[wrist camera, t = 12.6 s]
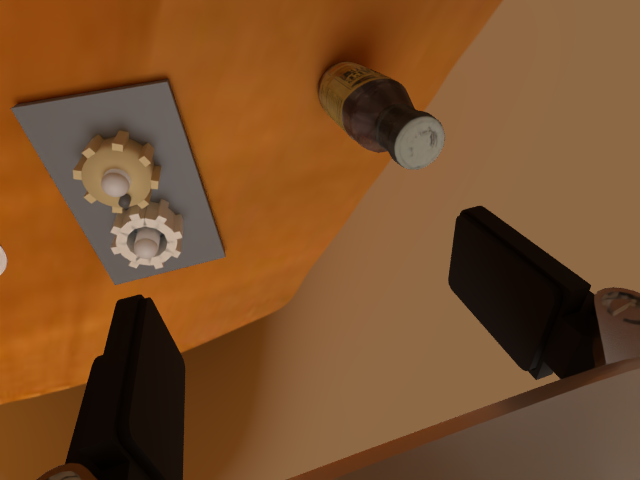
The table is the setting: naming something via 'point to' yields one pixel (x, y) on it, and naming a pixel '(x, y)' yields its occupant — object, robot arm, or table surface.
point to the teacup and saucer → (2, 260)
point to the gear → (153, 218)
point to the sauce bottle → (380, 114)
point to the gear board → (145, 125)
